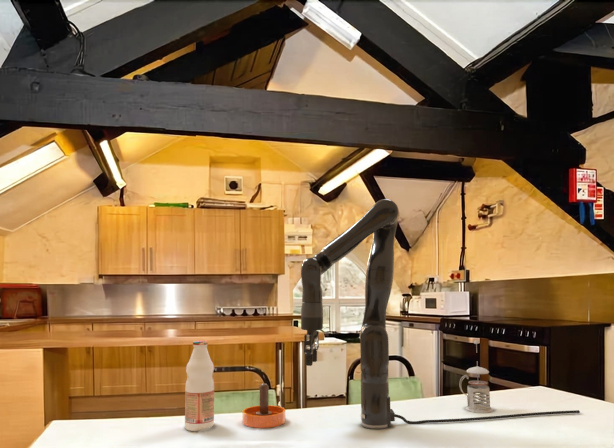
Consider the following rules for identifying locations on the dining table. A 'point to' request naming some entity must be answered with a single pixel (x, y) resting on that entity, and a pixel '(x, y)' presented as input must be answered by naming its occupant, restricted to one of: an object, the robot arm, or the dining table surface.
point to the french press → (481, 388)
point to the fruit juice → (199, 389)
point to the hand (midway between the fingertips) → (311, 363)
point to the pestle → (263, 400)
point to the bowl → (263, 417)
